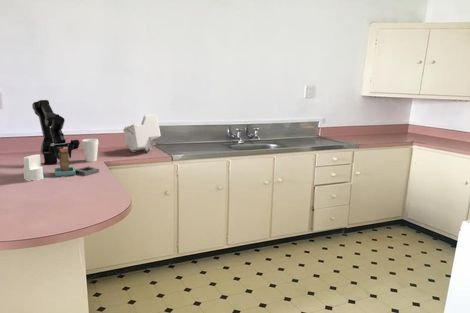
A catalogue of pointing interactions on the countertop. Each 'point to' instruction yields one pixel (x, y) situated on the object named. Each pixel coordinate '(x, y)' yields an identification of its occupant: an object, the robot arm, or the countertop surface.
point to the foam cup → (90, 149)
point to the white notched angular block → (142, 133)
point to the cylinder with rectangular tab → (33, 167)
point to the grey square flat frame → (86, 171)
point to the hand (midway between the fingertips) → (64, 158)
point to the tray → (66, 173)
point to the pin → (64, 160)
